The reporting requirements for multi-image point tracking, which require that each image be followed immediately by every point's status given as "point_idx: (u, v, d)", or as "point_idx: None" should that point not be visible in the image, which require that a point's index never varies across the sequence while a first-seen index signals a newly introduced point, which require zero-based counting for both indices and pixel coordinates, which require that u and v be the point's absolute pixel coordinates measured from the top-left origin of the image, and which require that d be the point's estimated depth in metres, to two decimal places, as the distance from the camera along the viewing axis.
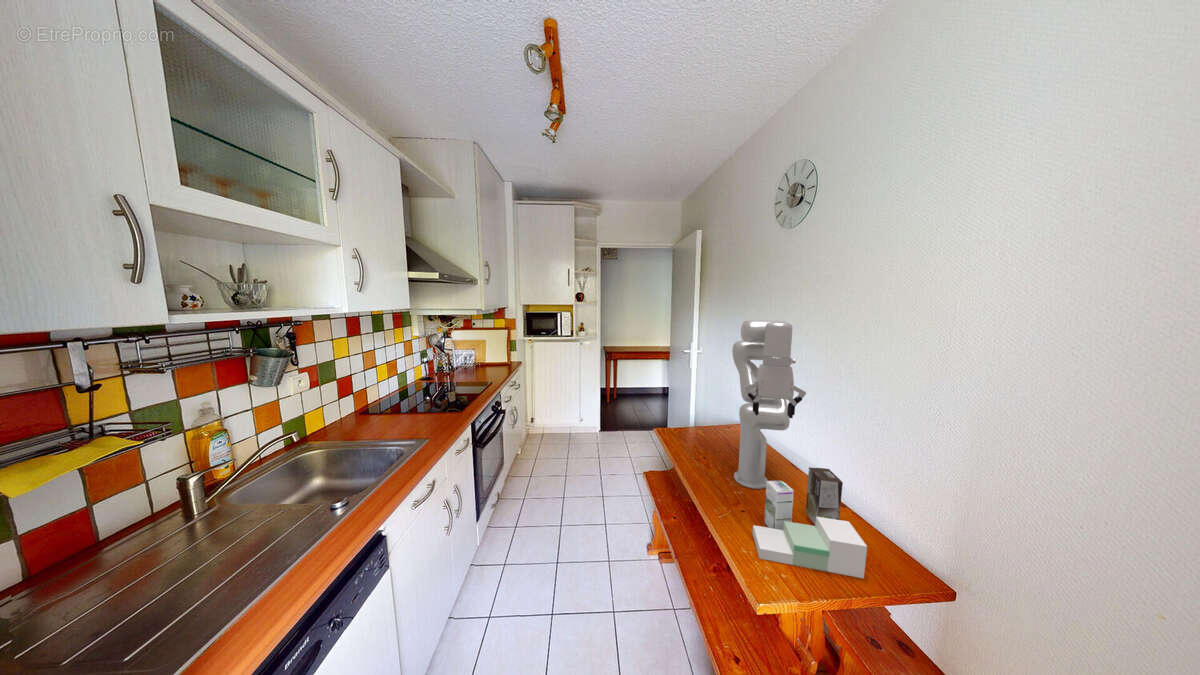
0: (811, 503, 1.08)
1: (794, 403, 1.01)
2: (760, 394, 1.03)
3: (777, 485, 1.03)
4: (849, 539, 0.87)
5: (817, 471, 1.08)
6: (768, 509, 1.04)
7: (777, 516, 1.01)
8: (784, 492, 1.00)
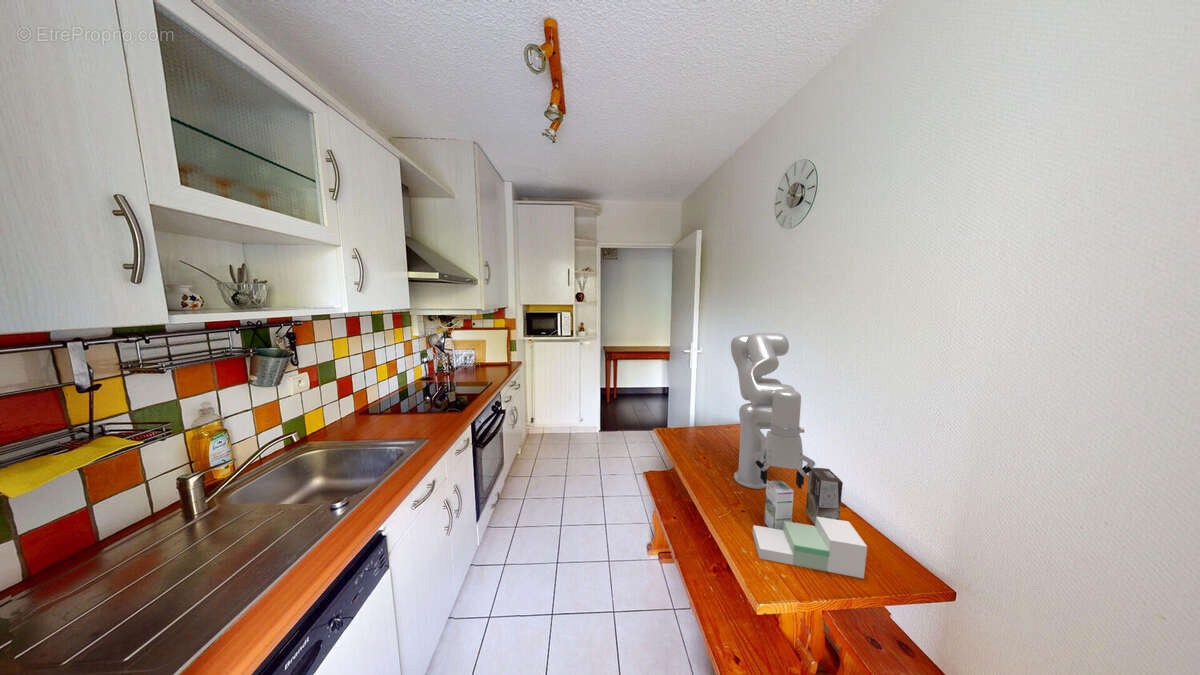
0: (811, 503, 1.08)
1: (803, 473, 0.99)
2: (768, 463, 1.01)
3: (777, 485, 1.03)
4: (849, 539, 0.87)
5: (817, 471, 1.08)
6: (768, 509, 1.04)
7: (777, 516, 1.01)
8: (784, 492, 1.00)
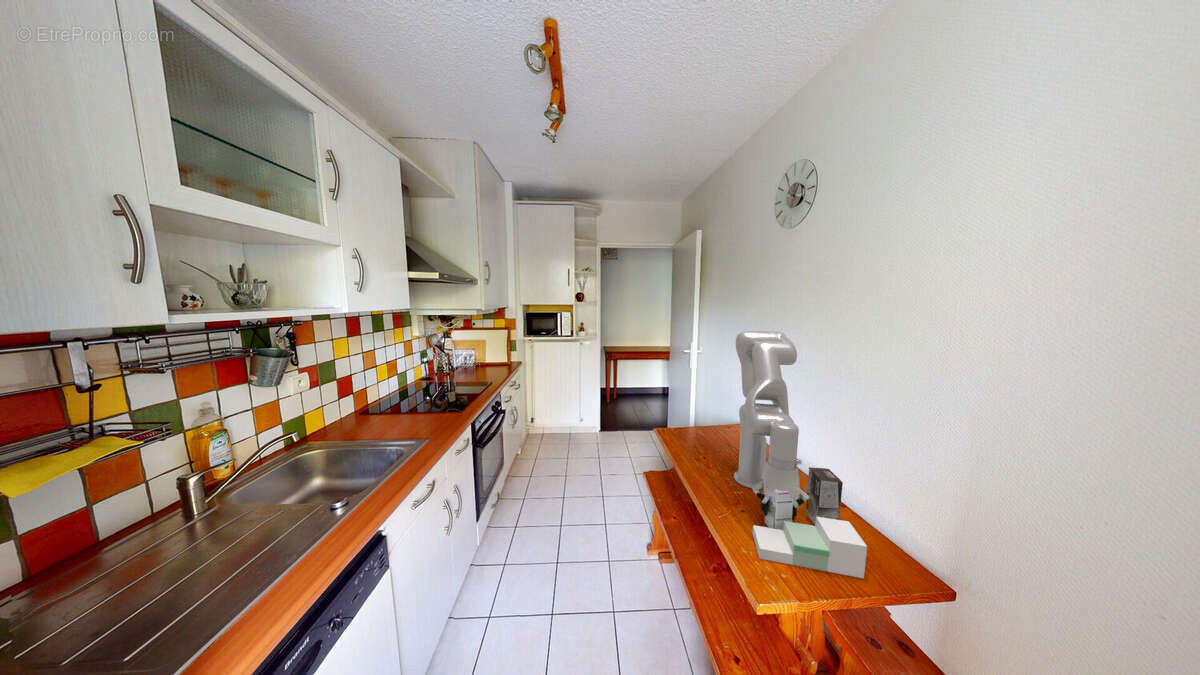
0: (811, 503, 1.08)
1: (796, 505, 1.01)
2: (766, 493, 1.02)
3: None
4: (849, 539, 0.87)
5: (817, 471, 1.08)
6: (768, 509, 1.04)
7: (777, 516, 1.01)
8: (784, 492, 1.00)
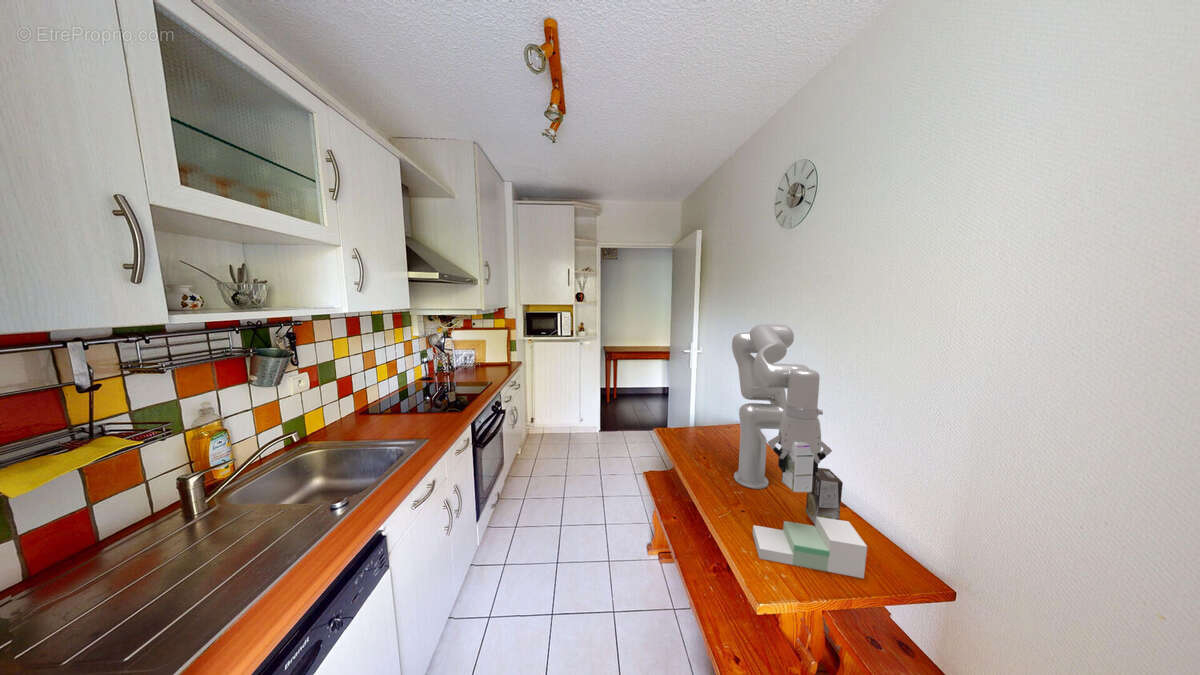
0: (811, 503, 1.08)
1: (817, 460, 0.93)
2: (784, 447, 0.94)
3: None
4: (849, 539, 0.87)
5: None
6: (786, 465, 0.96)
7: (796, 472, 0.92)
8: (804, 445, 0.92)
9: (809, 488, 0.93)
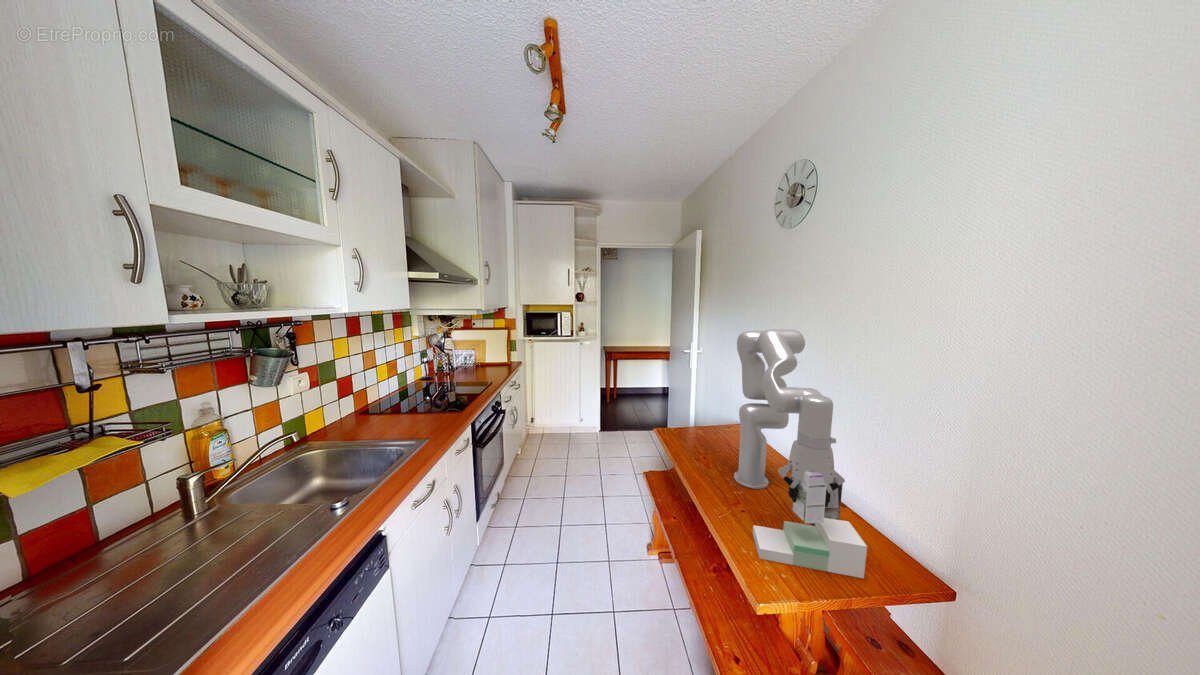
0: None
1: (830, 490, 0.89)
2: (795, 477, 0.90)
3: None
4: (849, 539, 0.87)
5: None
6: (797, 495, 0.92)
7: (808, 503, 0.89)
8: (816, 475, 0.88)
9: (821, 519, 0.89)
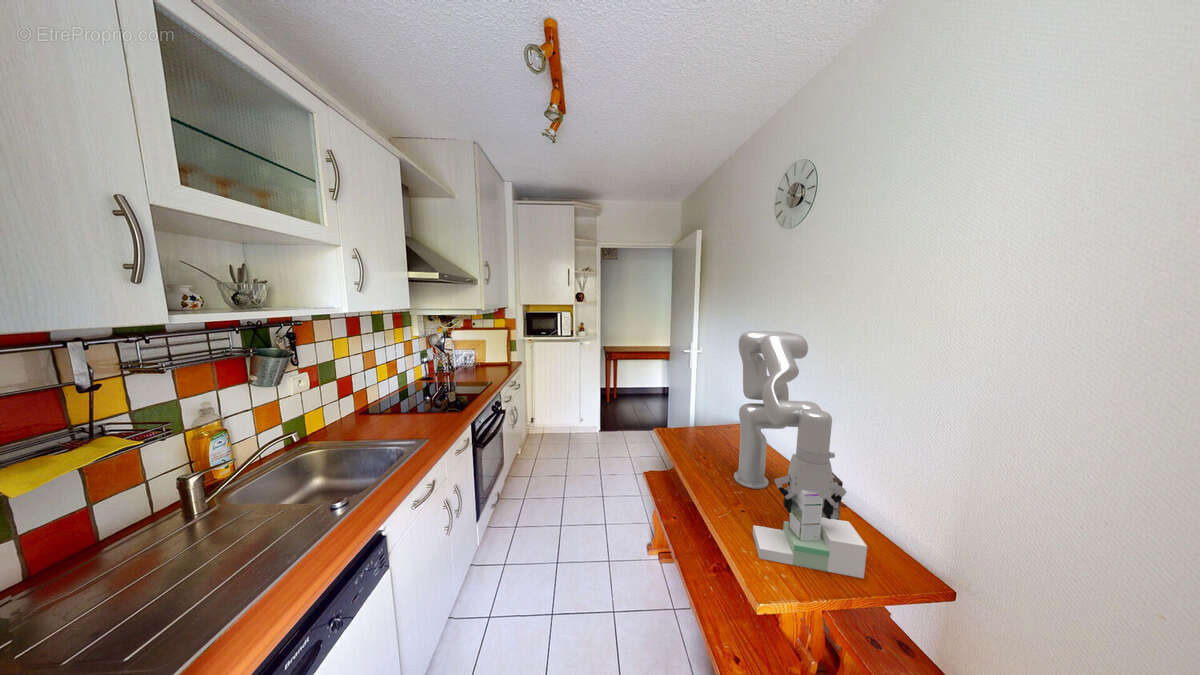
0: None
1: (833, 503, 0.89)
2: (793, 491, 0.91)
3: None
4: (849, 539, 0.87)
5: None
6: (793, 512, 0.93)
7: (804, 521, 0.90)
8: (812, 494, 0.89)
9: (817, 537, 0.90)
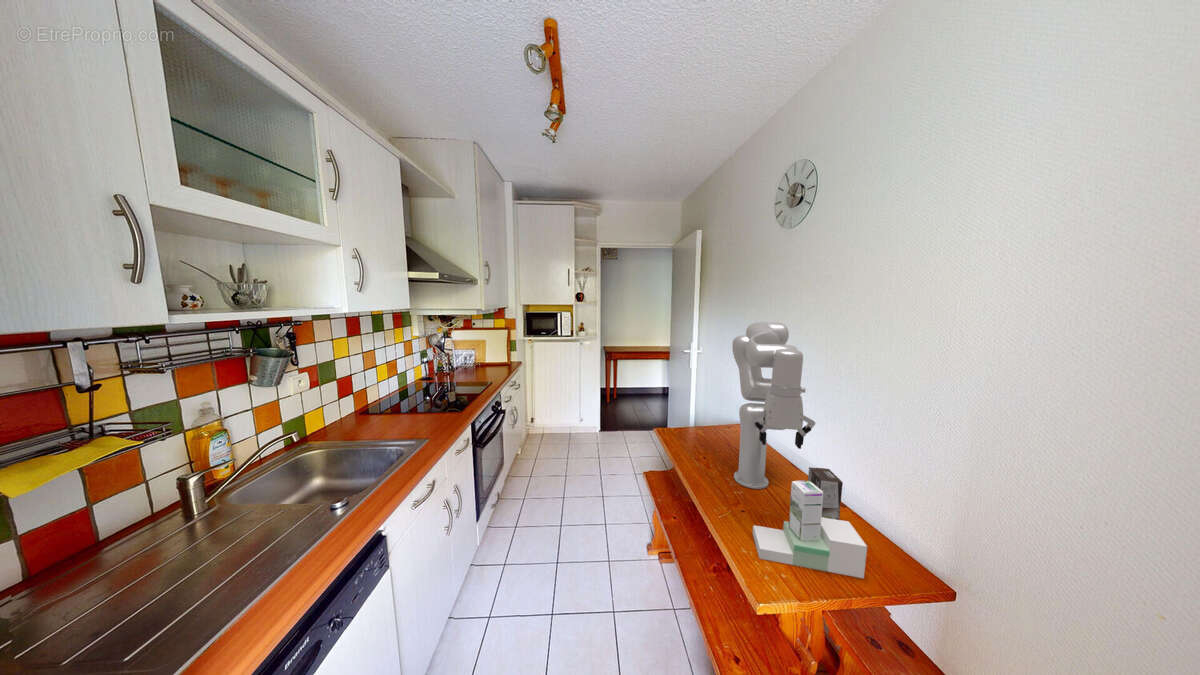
0: None
1: (803, 433, 0.97)
2: (768, 424, 0.98)
3: (804, 485, 0.92)
4: (849, 539, 0.87)
5: (817, 471, 1.08)
6: (793, 512, 0.93)
7: (804, 521, 0.90)
8: (812, 494, 0.89)
9: (817, 537, 0.90)
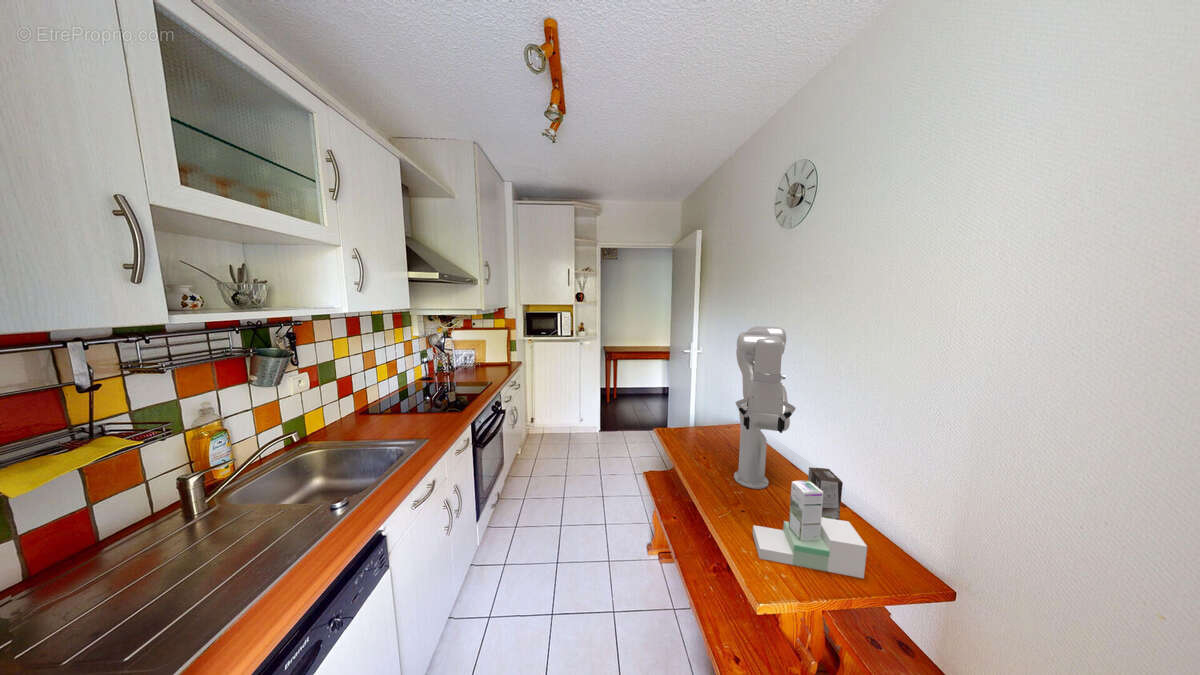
0: None
1: (784, 418, 1.03)
2: (751, 409, 1.04)
3: (804, 485, 0.92)
4: (849, 539, 0.87)
5: (817, 471, 1.08)
6: (793, 512, 0.93)
7: (804, 521, 0.90)
8: (812, 494, 0.89)
9: (817, 537, 0.90)
